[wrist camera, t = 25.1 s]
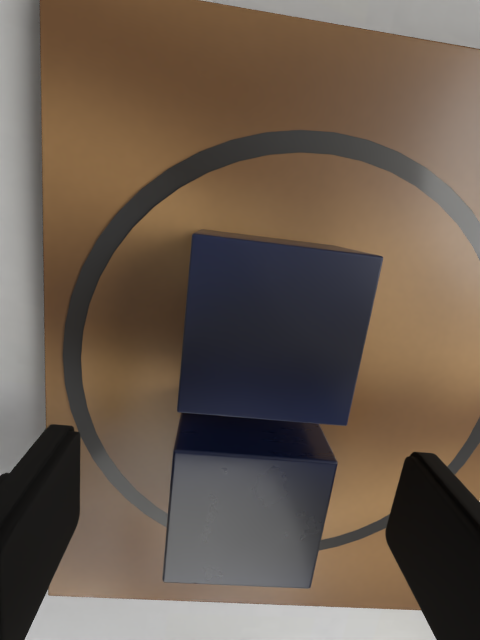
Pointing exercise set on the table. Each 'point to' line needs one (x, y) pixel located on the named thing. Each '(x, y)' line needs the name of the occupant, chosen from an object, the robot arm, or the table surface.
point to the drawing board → (259, 220)
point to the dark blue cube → (274, 327)
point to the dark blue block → (247, 501)
